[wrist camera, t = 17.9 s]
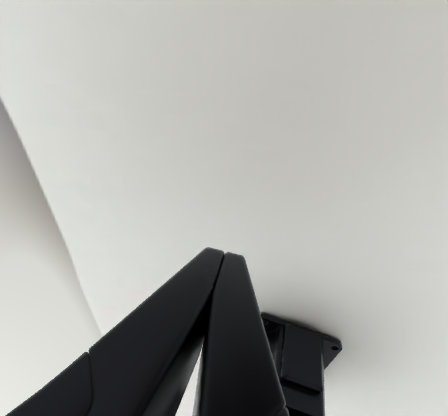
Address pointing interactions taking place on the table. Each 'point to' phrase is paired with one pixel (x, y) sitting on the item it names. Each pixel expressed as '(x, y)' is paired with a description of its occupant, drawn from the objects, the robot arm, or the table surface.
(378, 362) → the table surface
